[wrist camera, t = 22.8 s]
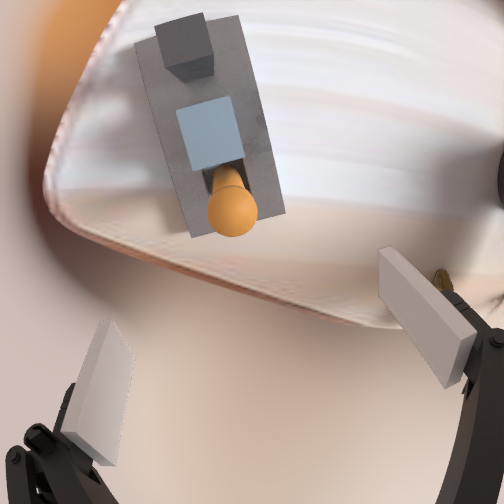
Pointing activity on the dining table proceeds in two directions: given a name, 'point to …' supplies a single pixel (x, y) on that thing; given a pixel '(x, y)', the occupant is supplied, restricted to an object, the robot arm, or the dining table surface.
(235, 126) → the light blue block
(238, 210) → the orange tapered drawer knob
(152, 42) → the gray base set
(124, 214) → the dining table surface
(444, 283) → the rock
